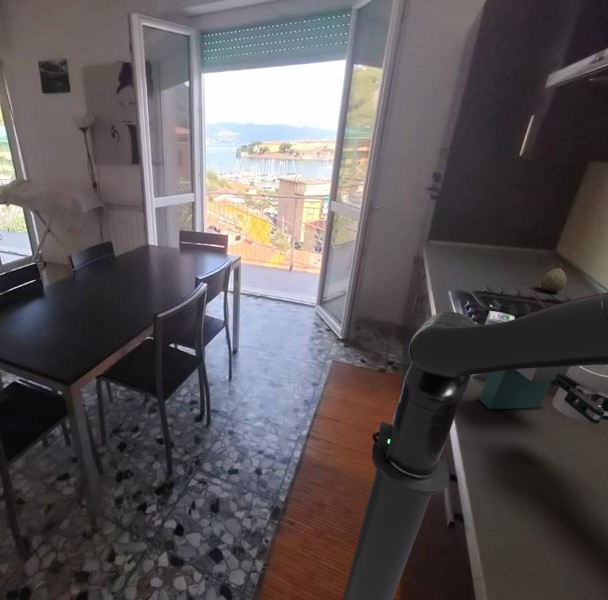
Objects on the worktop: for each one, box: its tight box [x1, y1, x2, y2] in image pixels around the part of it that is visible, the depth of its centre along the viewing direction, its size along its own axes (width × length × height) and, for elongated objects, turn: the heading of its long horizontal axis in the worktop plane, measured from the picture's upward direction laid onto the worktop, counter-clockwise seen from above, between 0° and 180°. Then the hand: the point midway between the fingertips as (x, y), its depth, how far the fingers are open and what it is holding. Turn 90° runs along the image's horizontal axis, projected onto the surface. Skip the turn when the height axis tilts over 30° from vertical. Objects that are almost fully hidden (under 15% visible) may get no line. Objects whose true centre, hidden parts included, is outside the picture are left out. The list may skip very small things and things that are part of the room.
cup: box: [551, 365, 608, 423], centre depth 65 cm, size 6×6×10 cm
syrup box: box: [484, 310, 516, 325], centre depth 98 cm, size 6×6×14 cm
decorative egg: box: [540, 267, 567, 293], centre depth 140 cm, size 7×7×10 cm
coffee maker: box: [478, 366, 570, 410], centre depth 79 cm, size 10×12×19 cm
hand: (576, 377), depth 67 cm, fingers closed on cup, 6 cm apart
